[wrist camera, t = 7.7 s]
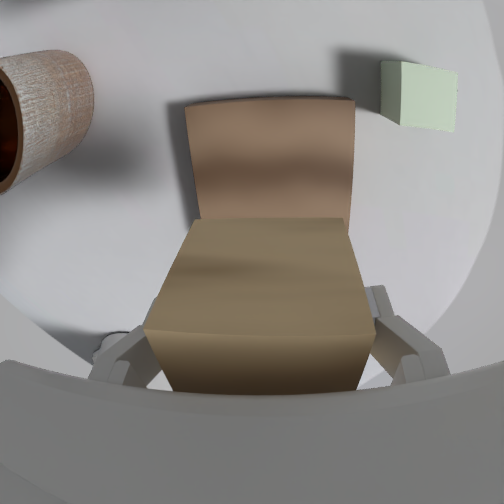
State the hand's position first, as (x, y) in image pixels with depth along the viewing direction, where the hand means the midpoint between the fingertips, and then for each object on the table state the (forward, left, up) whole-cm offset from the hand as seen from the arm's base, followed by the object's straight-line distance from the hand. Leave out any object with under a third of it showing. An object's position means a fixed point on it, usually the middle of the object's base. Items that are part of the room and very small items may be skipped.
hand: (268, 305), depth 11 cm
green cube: (+7, -11, -16) cm, 21 cm away
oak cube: (0, 0, -2) cm, 2 cm away
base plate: (0, 0, -16) cm, 16 cm away
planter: (+9, +20, -16) cm, 27 cm away
